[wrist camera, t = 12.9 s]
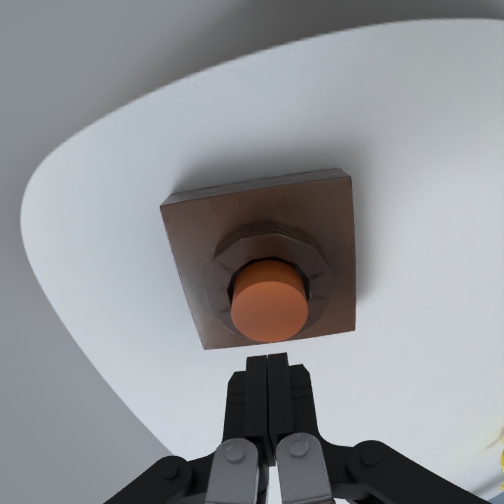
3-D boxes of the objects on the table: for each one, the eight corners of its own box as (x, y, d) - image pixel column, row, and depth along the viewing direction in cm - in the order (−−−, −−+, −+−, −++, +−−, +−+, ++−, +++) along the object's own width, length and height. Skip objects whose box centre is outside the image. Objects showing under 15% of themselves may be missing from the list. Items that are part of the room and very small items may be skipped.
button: (227, 264, 16) (223, 287, 14) (299, 254, 16) (304, 275, 14) (241, 321, 18) (239, 346, 16) (306, 313, 17) (310, 337, 15)
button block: (169, 194, 18) (148, 218, 15) (341, 167, 17) (361, 185, 14) (207, 329, 23) (199, 369, 19) (348, 311, 22) (362, 349, 18)
